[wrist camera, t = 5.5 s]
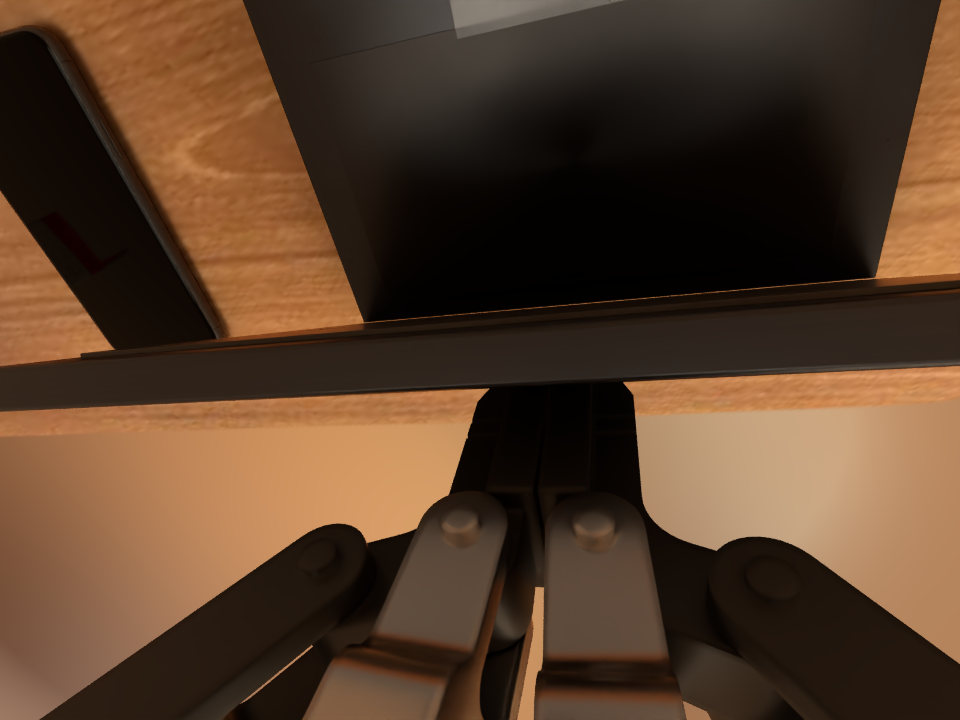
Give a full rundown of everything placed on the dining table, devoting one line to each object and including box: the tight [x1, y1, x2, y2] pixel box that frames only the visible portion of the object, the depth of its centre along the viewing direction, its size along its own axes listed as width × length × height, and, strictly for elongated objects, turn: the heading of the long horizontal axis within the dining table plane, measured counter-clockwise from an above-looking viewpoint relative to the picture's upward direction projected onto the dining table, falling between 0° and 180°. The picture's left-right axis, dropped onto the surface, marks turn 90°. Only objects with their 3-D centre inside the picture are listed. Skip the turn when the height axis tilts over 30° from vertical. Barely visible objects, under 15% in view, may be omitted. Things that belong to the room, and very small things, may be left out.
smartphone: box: [0, 25, 225, 350], centre depth 25 cm, size 7×1×15 cm
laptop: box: [243, 0, 941, 322], centre depth 18 cm, size 15×20×2 cm
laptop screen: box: [0, 273, 960, 412], centre depth 14 cm, size 15×20×1 cm
